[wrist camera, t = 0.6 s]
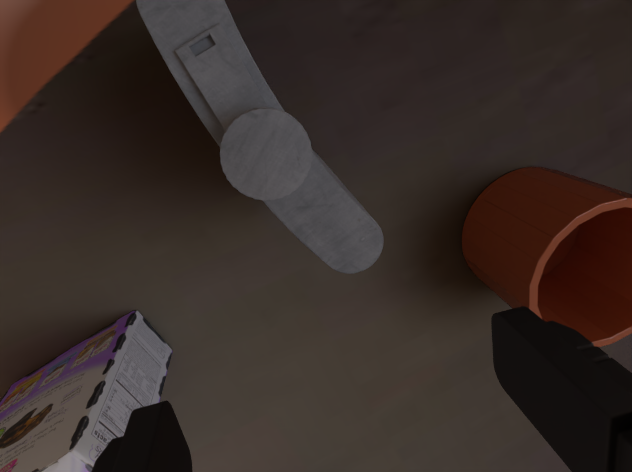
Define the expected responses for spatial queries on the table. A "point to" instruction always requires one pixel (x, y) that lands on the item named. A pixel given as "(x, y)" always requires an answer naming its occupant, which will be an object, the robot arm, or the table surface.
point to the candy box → (82, 399)
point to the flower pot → (556, 249)
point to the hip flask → (259, 132)
